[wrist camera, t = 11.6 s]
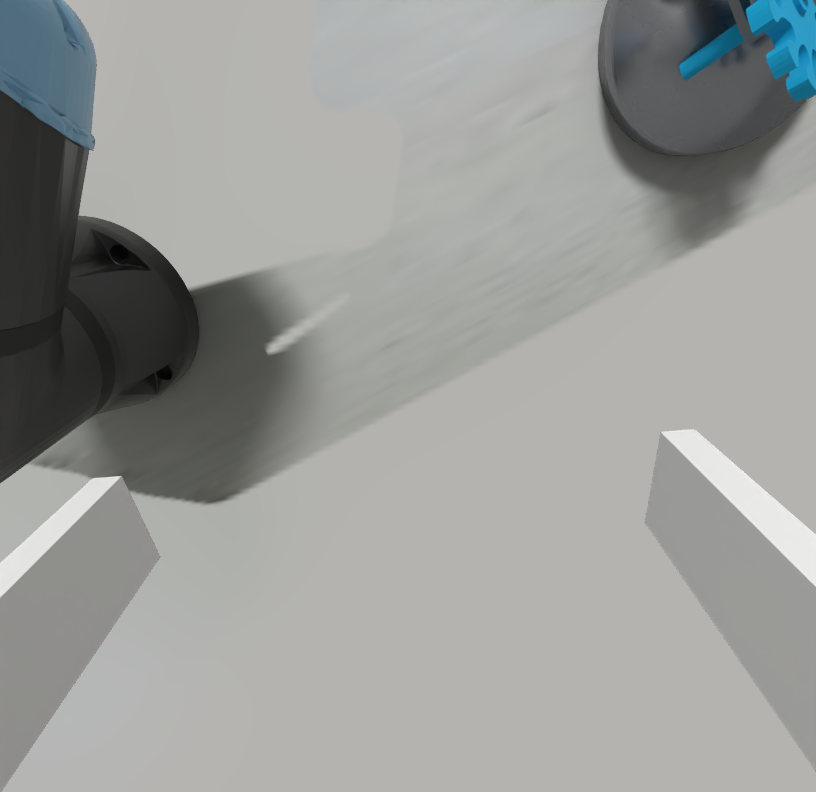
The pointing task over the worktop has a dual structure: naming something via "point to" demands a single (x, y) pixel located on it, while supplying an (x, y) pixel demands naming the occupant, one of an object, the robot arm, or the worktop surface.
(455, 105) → the worktop surface
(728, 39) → the gear
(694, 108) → the dark grey frying pan
